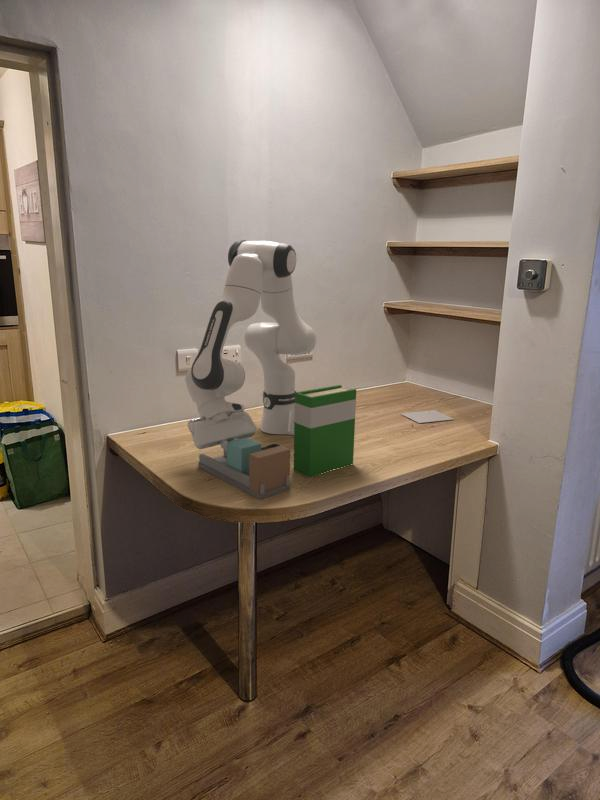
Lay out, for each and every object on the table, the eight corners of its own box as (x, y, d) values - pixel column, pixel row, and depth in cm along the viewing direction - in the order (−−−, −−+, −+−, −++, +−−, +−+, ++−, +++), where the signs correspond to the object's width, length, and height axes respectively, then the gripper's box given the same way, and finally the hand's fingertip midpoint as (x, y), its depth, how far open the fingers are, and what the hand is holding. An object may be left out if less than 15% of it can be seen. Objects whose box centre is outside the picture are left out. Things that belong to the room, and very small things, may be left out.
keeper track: (228, 459, 180) (227, 424, 177) (290, 488, 159) (291, 449, 156) (198, 467, 173) (197, 430, 170) (259, 499, 152) (259, 458, 149)
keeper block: (246, 466, 170) (246, 437, 168) (261, 473, 165) (261, 443, 163) (227, 471, 165) (226, 442, 163) (241, 479, 160) (241, 448, 158)
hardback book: (336, 457, 183) (339, 384, 177) (353, 464, 178) (356, 389, 172) (293, 469, 173) (294, 392, 166) (309, 477, 167) (311, 397, 161)
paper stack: (469, 427, 219) (470, 425, 219) (414, 434, 210) (414, 432, 209) (434, 411, 240) (434, 410, 240) (381, 416, 231) (382, 415, 230)
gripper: (189, 415, 162) (209, 456, 158) (247, 403, 176) (267, 441, 171) (181, 426, 167) (200, 467, 162) (238, 414, 180) (258, 452, 176)
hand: (235, 454), depth 167 cm, fingers closed, pressing on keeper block
